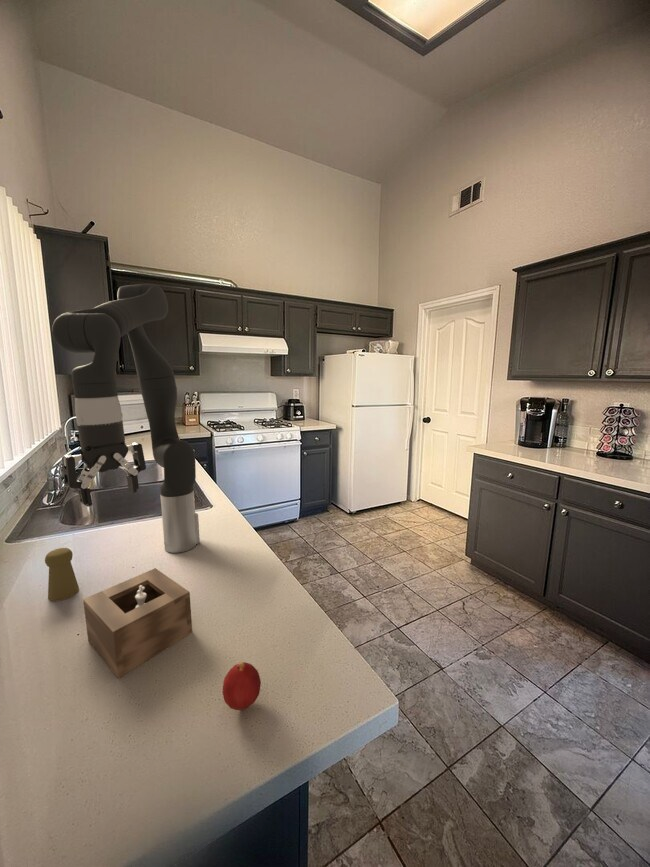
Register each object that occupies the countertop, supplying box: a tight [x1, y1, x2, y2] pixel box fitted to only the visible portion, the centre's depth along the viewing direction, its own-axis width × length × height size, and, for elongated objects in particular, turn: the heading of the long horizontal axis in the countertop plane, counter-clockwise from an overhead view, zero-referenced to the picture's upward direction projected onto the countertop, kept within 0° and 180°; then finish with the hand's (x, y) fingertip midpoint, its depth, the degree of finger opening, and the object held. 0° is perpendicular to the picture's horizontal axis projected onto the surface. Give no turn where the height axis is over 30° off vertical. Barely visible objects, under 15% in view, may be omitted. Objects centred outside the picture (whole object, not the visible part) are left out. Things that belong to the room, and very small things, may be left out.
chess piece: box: [135, 585, 147, 608], centre depth 69 cm, size 5×5×10 cm
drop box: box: [82, 568, 193, 679], centre depth 69 cm, size 14×14×9 cm
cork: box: [44, 547, 80, 602], centre depth 83 cm, size 6×6×11 cm
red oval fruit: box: [222, 661, 262, 711], centre depth 54 cm, size 6×6×8 cm
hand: (111, 498), depth 71 cm, fingers open, 8 cm apart
